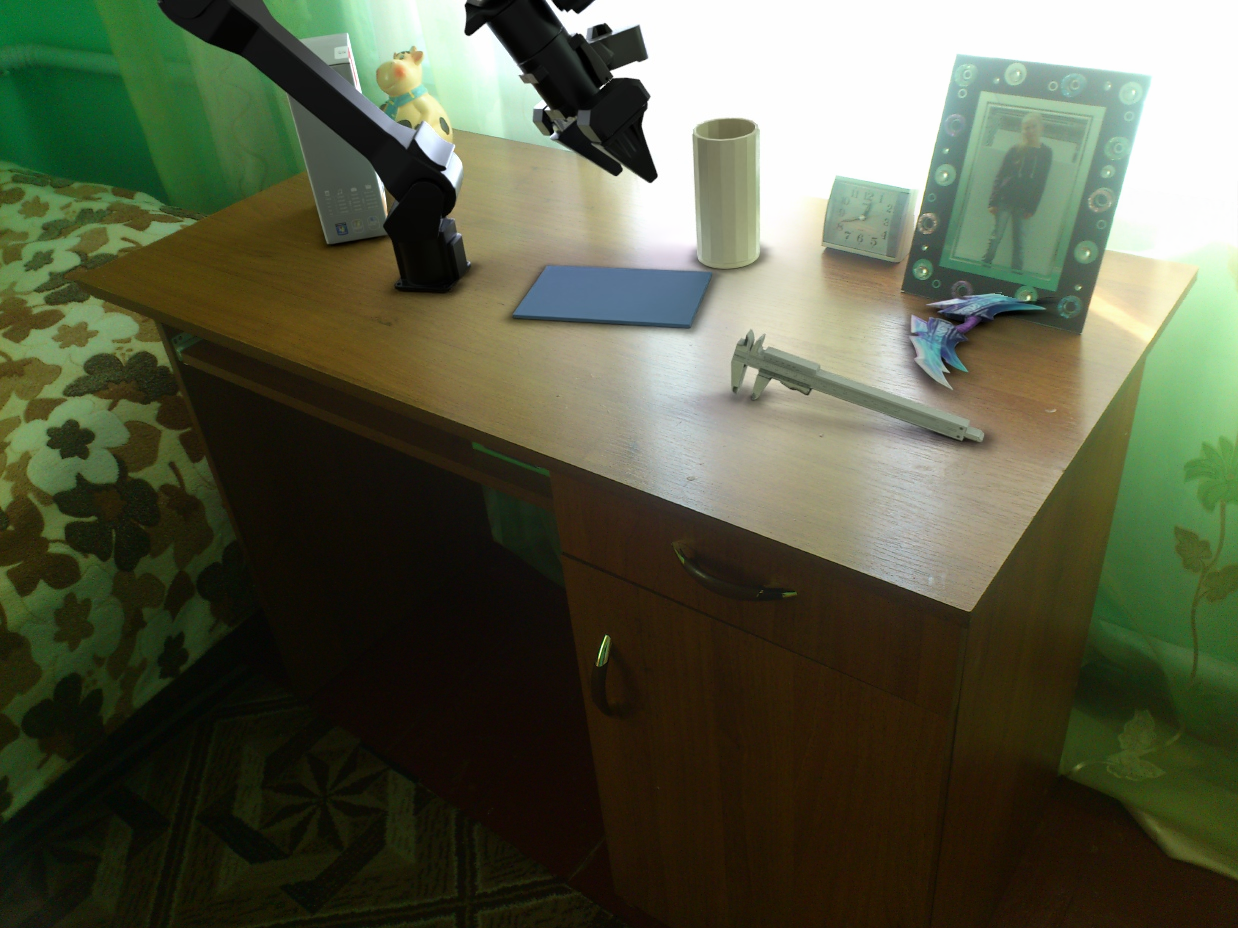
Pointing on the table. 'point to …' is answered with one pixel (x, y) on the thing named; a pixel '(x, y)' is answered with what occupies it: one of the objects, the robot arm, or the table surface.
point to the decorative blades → (955, 329)
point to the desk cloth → (615, 296)
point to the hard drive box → (339, 159)
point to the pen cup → (727, 191)
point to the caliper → (837, 388)
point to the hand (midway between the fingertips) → (636, 176)
